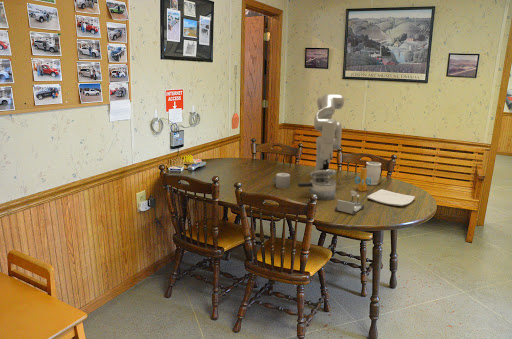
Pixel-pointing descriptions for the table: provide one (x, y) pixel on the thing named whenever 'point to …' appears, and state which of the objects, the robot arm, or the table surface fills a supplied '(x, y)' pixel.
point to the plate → (391, 198)
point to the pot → (321, 187)
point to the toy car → (349, 205)
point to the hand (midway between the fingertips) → (325, 170)
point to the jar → (373, 172)
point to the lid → (322, 173)
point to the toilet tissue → (282, 180)
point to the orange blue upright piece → (363, 180)
